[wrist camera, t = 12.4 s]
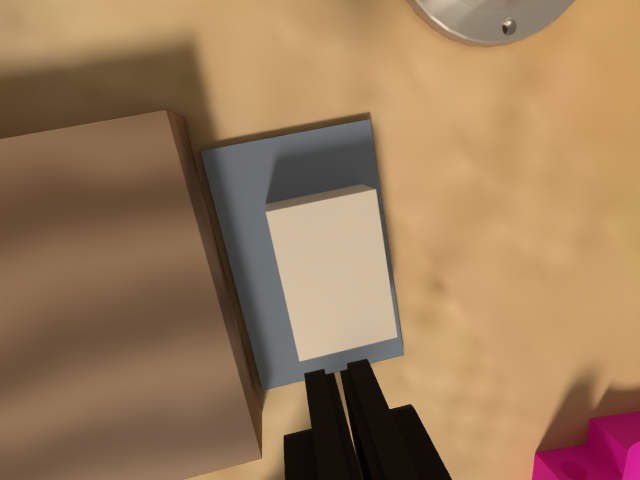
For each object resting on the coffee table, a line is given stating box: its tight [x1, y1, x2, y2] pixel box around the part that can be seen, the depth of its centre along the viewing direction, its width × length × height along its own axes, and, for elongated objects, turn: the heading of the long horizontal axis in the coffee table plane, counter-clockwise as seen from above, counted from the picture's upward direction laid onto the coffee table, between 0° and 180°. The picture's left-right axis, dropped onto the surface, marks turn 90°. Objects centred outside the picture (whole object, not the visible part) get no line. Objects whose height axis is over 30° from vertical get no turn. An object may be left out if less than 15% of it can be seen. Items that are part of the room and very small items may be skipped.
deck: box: [0, 110, 262, 480], centre depth 21 cm, size 20×14×4 cm
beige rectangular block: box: [265, 184, 397, 362], centre depth 23 cm, size 9×6×3 cm, turn 11°
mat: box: [201, 119, 404, 391], centre depth 24 cm, size 16×10×1 cm, turn 11°
